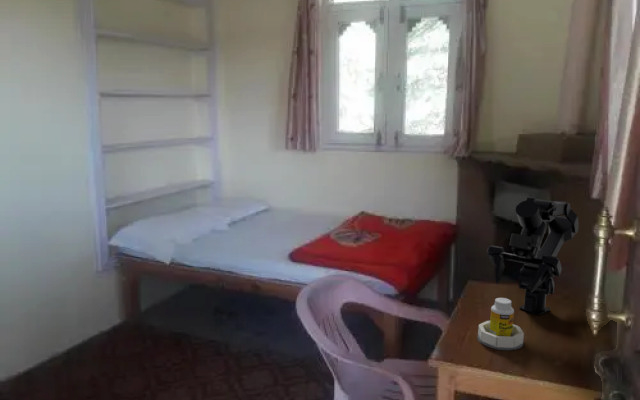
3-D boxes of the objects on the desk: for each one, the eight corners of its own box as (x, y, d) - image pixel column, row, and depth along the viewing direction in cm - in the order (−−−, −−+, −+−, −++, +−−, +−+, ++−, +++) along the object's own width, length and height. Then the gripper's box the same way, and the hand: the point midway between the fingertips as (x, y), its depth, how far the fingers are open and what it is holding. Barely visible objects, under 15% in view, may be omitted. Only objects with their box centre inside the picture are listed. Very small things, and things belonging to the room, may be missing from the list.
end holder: (493, 327, 145) (494, 316, 144) (531, 341, 136) (532, 330, 136) (468, 338, 138) (469, 327, 137) (507, 354, 129) (508, 342, 129)
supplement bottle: (496, 343, 134) (499, 305, 132) (484, 334, 139) (487, 297, 137) (516, 341, 135) (519, 303, 133) (503, 332, 140) (506, 295, 138)
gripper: (491, 216, 147) (471, 264, 141) (562, 227, 135) (544, 280, 129) (500, 238, 154) (482, 285, 148) (568, 250, 142) (552, 301, 136)
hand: (513, 287), depth 140 cm, fingers open, 9 cm apart
